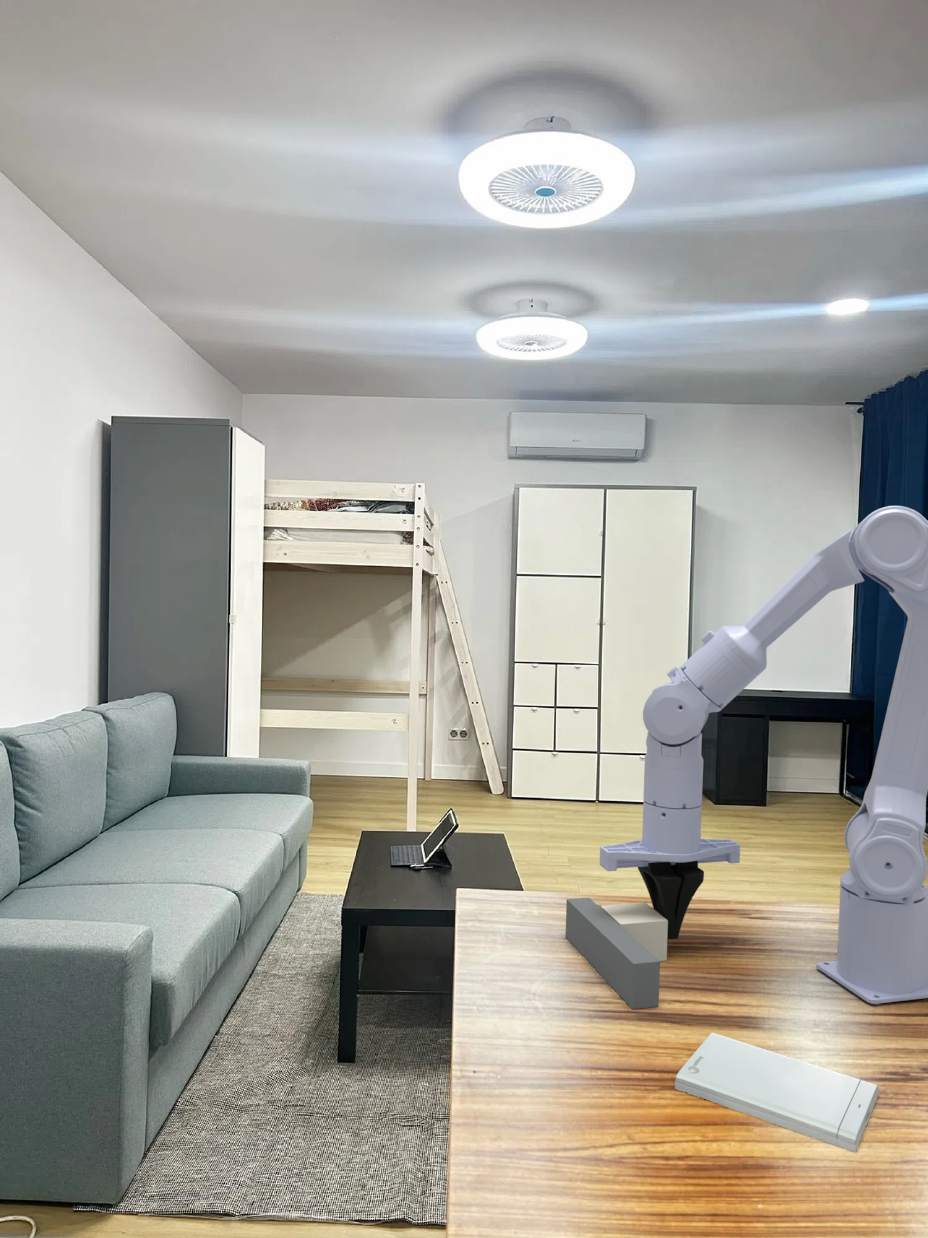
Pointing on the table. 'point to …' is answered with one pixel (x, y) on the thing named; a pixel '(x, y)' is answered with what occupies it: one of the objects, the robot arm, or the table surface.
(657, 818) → the robot arm
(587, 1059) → the table surface
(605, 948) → the gray bar
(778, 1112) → the hard drive
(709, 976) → the table surface
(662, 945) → the cream block
